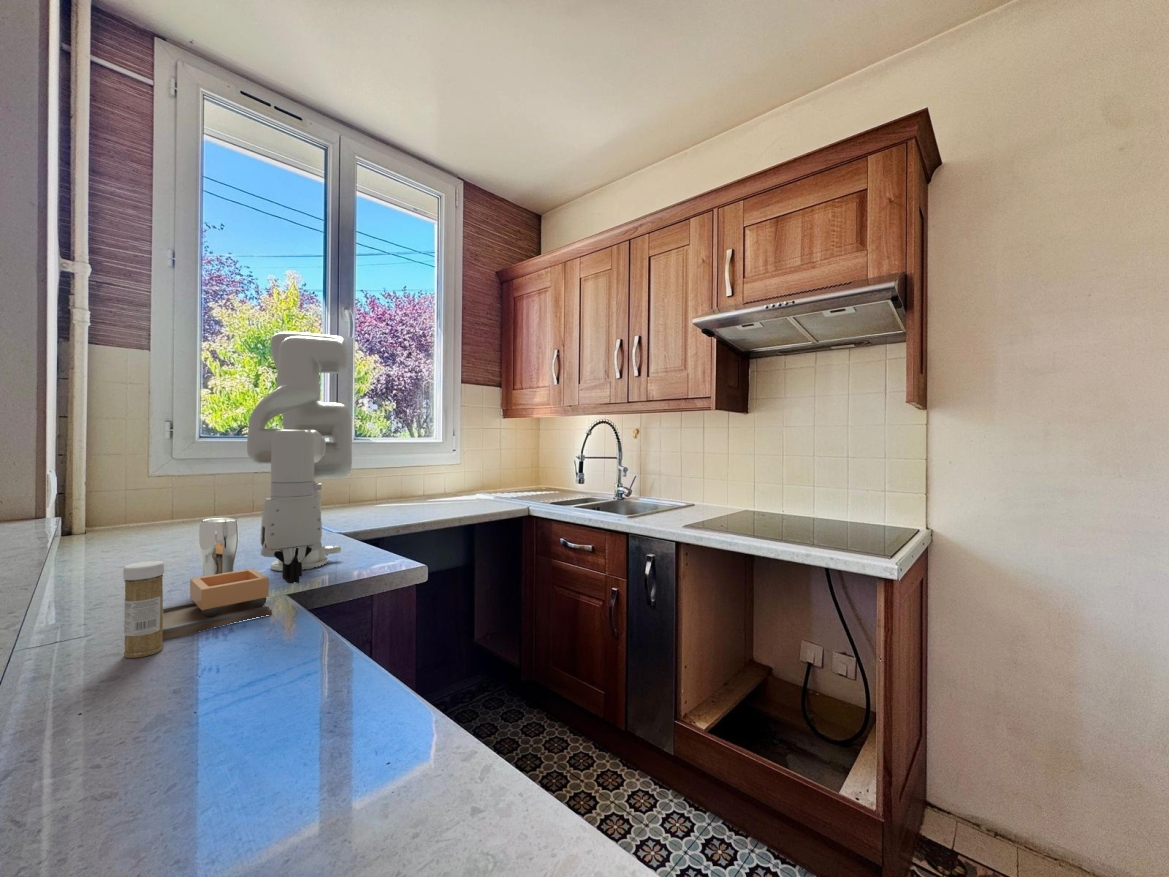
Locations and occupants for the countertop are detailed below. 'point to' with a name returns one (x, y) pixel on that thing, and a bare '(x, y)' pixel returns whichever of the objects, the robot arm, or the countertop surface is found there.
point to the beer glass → (218, 545)
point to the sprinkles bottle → (143, 608)
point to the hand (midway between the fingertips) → (292, 581)
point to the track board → (193, 620)
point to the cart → (229, 590)
